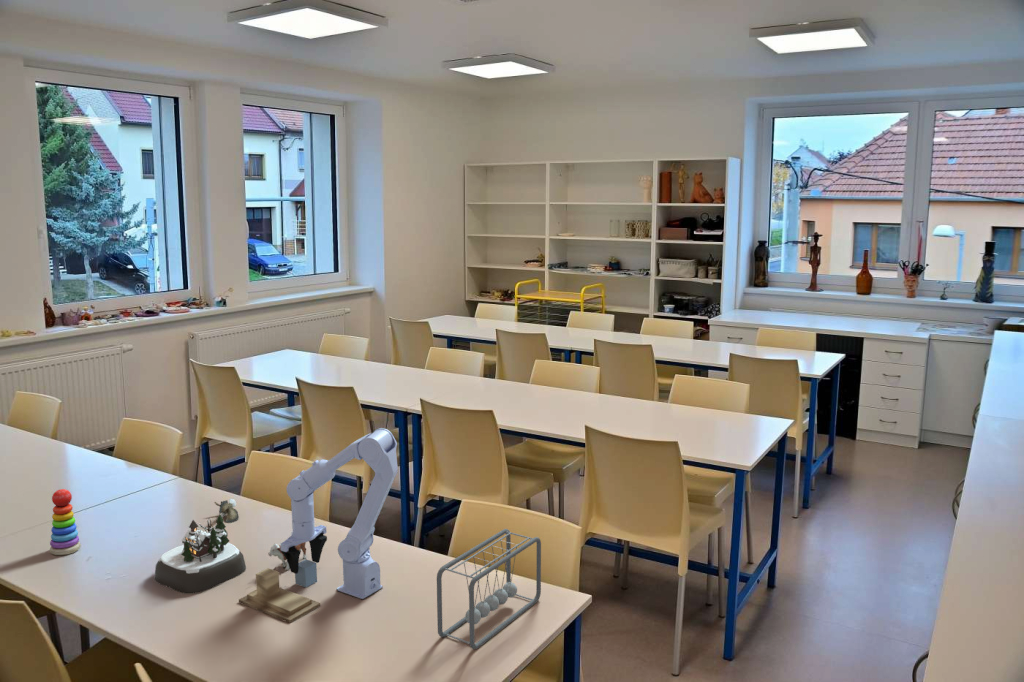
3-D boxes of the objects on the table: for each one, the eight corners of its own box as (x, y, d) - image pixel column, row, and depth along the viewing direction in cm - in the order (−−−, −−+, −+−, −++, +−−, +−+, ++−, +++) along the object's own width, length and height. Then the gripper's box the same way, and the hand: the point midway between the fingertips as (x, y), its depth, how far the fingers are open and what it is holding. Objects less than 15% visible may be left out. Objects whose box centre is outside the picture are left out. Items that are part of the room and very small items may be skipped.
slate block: (317, 581, 219) (316, 562, 218) (306, 587, 216) (305, 568, 215) (306, 578, 222) (305, 559, 221) (295, 583, 218) (294, 564, 217)
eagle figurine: (208, 513, 264) (214, 517, 256) (218, 492, 266) (224, 496, 258) (229, 522, 267) (236, 526, 260) (239, 501, 269) (246, 505, 262)
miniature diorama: (209, 552, 238) (205, 497, 235) (254, 569, 227) (250, 511, 224) (146, 578, 222) (141, 519, 219) (191, 598, 211) (186, 536, 208)
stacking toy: (67, 557, 234) (61, 495, 231) (43, 555, 236) (37, 494, 233) (87, 546, 242) (81, 486, 239) (63, 543, 244) (57, 484, 240)
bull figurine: (266, 573, 225) (265, 545, 223) (300, 554, 236) (298, 527, 235) (278, 576, 223) (276, 548, 221) (311, 557, 234) (310, 530, 233)
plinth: (320, 605, 206) (320, 598, 206) (290, 623, 198) (289, 615, 198) (269, 586, 217) (269, 579, 216) (238, 602, 208) (238, 595, 208)
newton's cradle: (508, 589, 215) (507, 525, 212) (541, 599, 210) (541, 534, 206) (436, 639, 191) (435, 569, 188) (472, 653, 185) (471, 581, 182)
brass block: (279, 591, 210) (278, 571, 209) (267, 598, 206) (266, 577, 205) (269, 587, 212) (268, 568, 211) (256, 593, 209) (255, 574, 208)
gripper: (312, 507, 224) (314, 553, 226) (271, 525, 212) (273, 573, 214) (331, 512, 220) (333, 559, 222) (290, 531, 208) (292, 580, 210)
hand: (305, 566), depth 218 cm, fingers open, 7 cm apart
